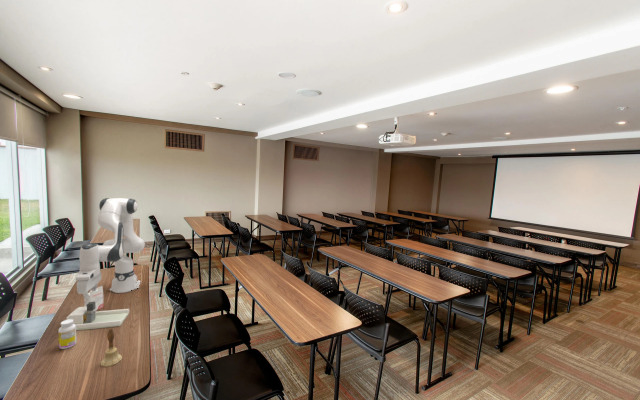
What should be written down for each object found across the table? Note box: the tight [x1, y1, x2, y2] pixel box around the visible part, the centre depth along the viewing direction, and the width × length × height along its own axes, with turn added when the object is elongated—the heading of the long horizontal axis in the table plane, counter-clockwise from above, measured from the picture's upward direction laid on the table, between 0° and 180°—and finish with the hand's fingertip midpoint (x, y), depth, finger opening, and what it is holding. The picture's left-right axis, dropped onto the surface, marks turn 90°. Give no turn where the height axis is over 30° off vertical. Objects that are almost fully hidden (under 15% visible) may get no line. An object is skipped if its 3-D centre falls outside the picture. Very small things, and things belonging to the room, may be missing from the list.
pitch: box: [66, 306, 130, 331], centre depth 161 cm, size 15×26×8 cm, turn 108°
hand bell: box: [100, 327, 123, 368], centre depth 129 cm, size 8×8×16 cm
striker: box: [87, 302, 96, 323], centre depth 160 cm, size 5×3×11 cm, turn 18°
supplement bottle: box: [57, 319, 77, 350], centre depth 138 cm, size 7×7×13 cm
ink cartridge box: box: [83, 285, 105, 312], centre depth 174 cm, size 9×5×15 cm, turn 168°
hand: (90, 294), depth 159 cm, fingers open, 8 cm apart
